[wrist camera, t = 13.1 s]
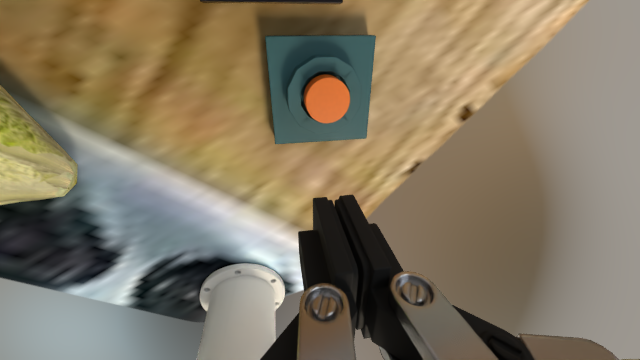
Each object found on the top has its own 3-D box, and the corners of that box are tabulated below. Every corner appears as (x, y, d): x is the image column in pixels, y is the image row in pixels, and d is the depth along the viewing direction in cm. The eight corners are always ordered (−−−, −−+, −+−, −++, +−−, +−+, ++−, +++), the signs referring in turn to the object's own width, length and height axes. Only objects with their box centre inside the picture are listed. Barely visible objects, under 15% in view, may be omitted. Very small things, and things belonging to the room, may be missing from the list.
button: (344, 116, 26) (349, 122, 24) (304, 118, 25) (306, 124, 24) (346, 73, 24) (351, 76, 22) (302, 74, 23) (304, 78, 22)
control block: (360, 131, 31) (371, 144, 27) (274, 137, 29) (275, 151, 26) (368, 34, 26) (383, 35, 22) (265, 35, 24) (264, 36, 21)
